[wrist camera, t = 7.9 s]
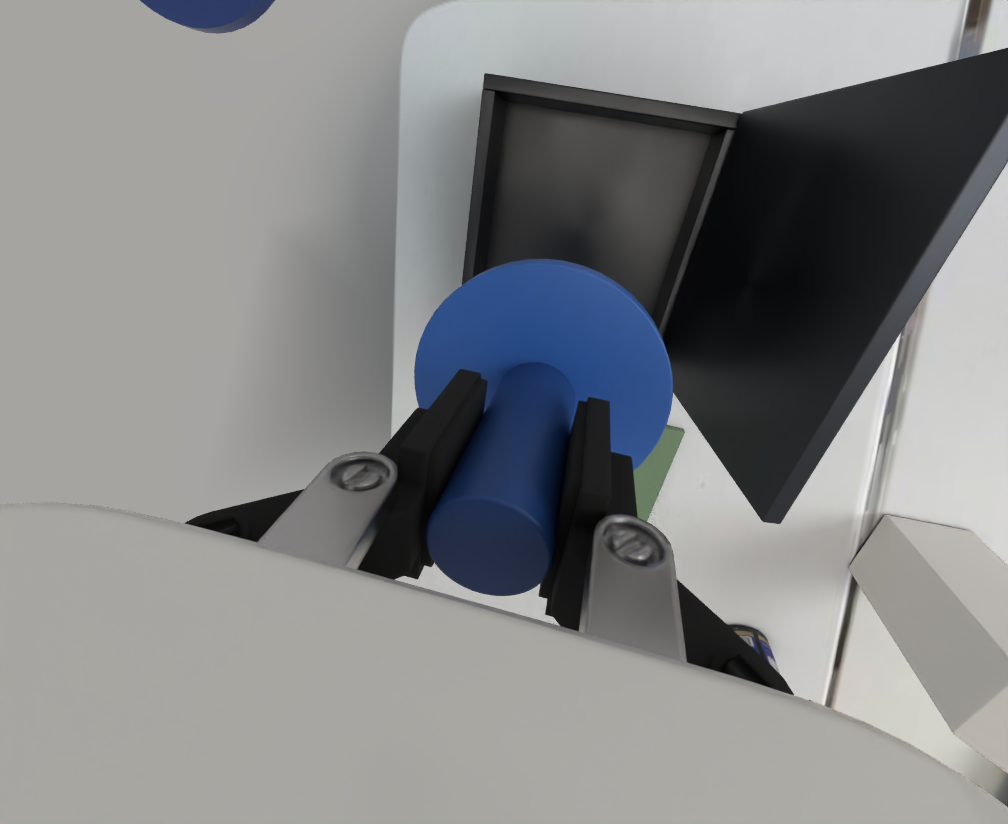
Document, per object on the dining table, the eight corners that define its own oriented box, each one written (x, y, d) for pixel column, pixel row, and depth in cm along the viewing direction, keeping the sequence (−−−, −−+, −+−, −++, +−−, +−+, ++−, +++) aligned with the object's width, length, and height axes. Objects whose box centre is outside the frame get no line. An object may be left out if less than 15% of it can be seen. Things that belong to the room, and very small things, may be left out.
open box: (473, 304, 38) (457, 319, 34) (500, 87, 31) (484, 72, 27) (651, 342, 37) (658, 363, 33) (726, 123, 29) (746, 114, 25)
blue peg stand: (417, 458, 17) (301, 628, 10) (429, 235, 13) (256, 287, 6) (627, 509, 16) (643, 730, 9) (709, 287, 12) (831, 407, 6)
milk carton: (846, 567, 43) (998, 806, 27) (884, 512, 40) (1084, 748, 23) (925, 584, 42) (1133, 842, 26) (971, 529, 39) (1244, 787, 22)
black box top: (762, 522, 18) (780, 525, 18) (1053, 35, 10) (1085, 41, 10) (653, 364, 32) (664, 366, 32) (742, 111, 25) (755, 114, 25)
